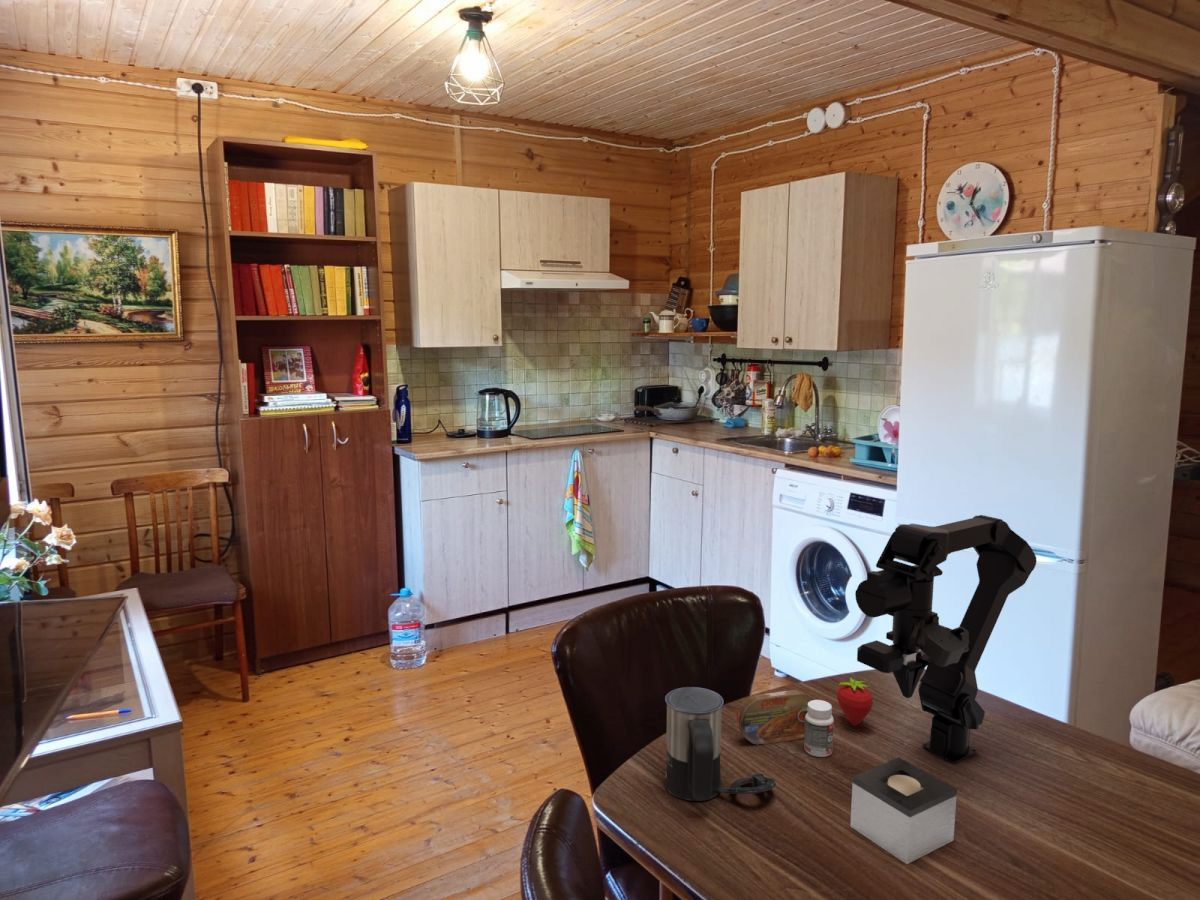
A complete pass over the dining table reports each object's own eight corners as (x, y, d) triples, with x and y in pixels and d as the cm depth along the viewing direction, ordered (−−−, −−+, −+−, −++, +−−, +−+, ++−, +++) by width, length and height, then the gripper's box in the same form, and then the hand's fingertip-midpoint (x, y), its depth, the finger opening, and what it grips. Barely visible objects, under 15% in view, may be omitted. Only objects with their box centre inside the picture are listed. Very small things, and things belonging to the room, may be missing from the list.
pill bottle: (833, 759, 141) (835, 712, 140) (804, 756, 142) (806, 710, 141) (831, 745, 146) (833, 700, 144) (803, 742, 147) (805, 697, 145)
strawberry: (848, 737, 148) (851, 684, 147) (828, 717, 155) (830, 666, 154) (878, 733, 149) (881, 680, 148) (857, 714, 157) (859, 663, 155)
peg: (899, 818, 124) (901, 771, 122) (924, 833, 120) (927, 786, 119) (878, 828, 121) (881, 780, 120) (903, 844, 118) (906, 795, 117)
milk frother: (654, 776, 136) (655, 691, 134) (739, 757, 142) (741, 675, 139) (694, 825, 123) (696, 732, 120) (786, 803, 128) (789, 713, 126)
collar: (896, 805, 128) (898, 757, 126) (953, 840, 119) (957, 788, 118) (850, 826, 122) (852, 776, 121) (906, 864, 114) (910, 810, 113)
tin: (740, 747, 145) (742, 702, 144) (733, 739, 148) (734, 694, 147) (819, 737, 148) (821, 692, 147) (811, 728, 151) (813, 685, 150)
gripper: (916, 632, 121) (910, 732, 124) (995, 609, 131) (988, 702, 133) (856, 609, 130) (852, 703, 133) (934, 589, 140) (928, 677, 142)
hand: (907, 696), depth 135 cm, fingers closed
